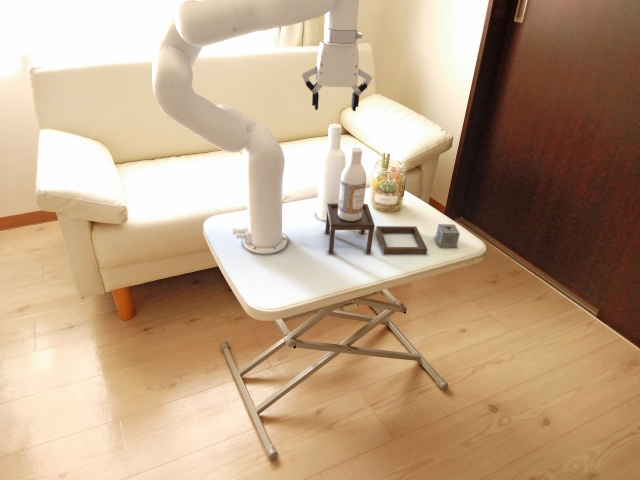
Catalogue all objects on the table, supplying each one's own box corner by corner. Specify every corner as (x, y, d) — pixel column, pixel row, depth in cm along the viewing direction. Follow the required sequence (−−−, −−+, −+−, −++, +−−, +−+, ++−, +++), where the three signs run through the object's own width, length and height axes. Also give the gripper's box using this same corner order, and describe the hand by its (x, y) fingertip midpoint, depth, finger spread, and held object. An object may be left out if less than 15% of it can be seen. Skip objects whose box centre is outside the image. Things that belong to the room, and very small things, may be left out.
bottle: (341, 222, 144) (349, 130, 128) (316, 221, 144) (321, 129, 127) (340, 210, 150) (348, 121, 134) (316, 208, 150) (322, 120, 134)
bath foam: (347, 224, 125) (353, 156, 114) (332, 213, 130) (338, 147, 119) (366, 218, 128) (375, 152, 118) (352, 208, 133) (359, 143, 122)
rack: (328, 254, 128) (331, 224, 123) (325, 231, 139) (327, 203, 133) (426, 254, 131) (432, 225, 126) (415, 231, 141) (420, 204, 136)
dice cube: (451, 238, 139) (454, 224, 136) (456, 247, 135) (459, 233, 132) (435, 238, 139) (438, 224, 136) (439, 247, 135) (443, 233, 132)
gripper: (373, 35, 111) (365, 105, 120) (302, 32, 109) (300, 103, 118) (378, 41, 105) (370, 114, 114) (304, 37, 103) (301, 112, 112)
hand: (334, 109), depth 116 cm, fingers open, 9 cm apart
